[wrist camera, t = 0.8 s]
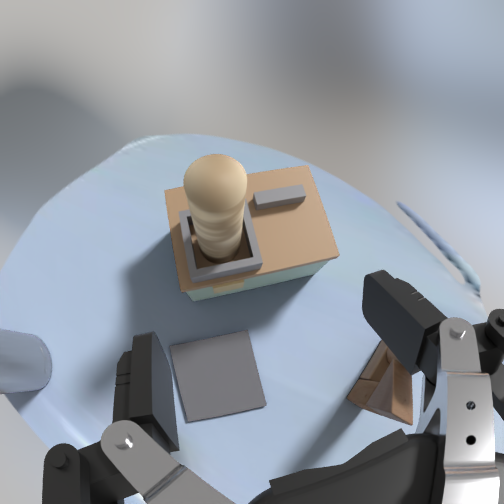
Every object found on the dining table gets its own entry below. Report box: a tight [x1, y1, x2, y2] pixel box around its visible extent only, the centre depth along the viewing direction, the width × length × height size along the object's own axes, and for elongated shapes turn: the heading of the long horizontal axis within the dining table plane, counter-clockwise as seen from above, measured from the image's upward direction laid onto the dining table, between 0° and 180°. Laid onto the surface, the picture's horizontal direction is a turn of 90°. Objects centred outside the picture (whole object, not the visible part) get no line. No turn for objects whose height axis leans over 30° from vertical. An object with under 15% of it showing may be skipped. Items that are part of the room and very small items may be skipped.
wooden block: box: [347, 340, 413, 425], centre depth 33 cm, size 4×11×18 cm, turn 144°
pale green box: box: [164, 165, 339, 302], centre depth 40 cm, size 19×13×13 cm
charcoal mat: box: [170, 330, 266, 422], centre depth 40 cm, size 11×11×1 cm
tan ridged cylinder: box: [183, 154, 247, 264], centre depth 29 cm, size 5×5×14 cm
